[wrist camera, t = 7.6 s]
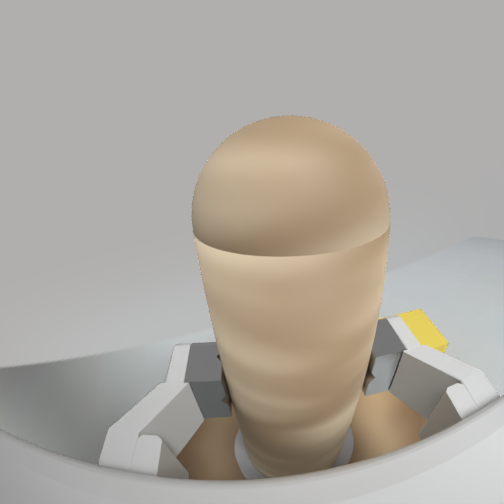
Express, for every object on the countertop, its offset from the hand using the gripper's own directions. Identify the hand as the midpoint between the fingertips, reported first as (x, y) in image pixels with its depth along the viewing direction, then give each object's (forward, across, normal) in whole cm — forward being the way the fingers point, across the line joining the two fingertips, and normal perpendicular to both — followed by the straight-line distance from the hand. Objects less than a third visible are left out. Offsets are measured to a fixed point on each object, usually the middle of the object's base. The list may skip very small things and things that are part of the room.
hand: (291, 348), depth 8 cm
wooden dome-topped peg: (-1, 0, +6) cm, 7 cm away
